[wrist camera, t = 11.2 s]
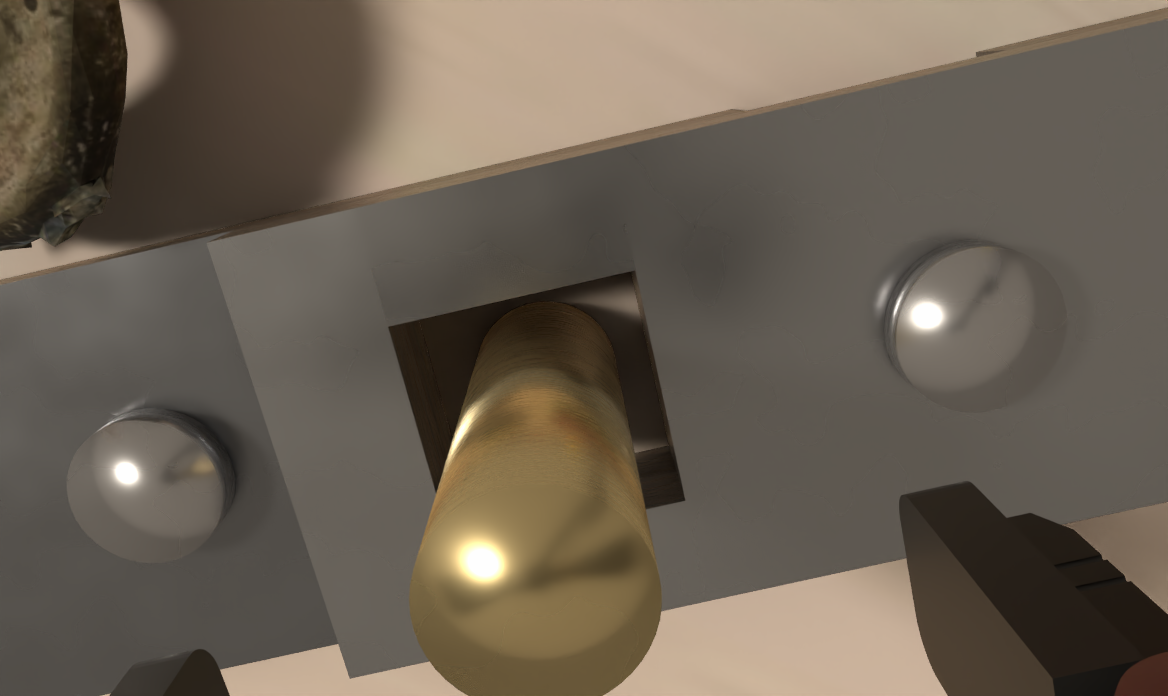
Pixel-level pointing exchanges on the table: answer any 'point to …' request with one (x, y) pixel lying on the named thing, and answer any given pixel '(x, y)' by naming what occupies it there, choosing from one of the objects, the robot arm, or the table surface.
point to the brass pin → (539, 521)
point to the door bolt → (674, 340)
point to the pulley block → (57, 114)
